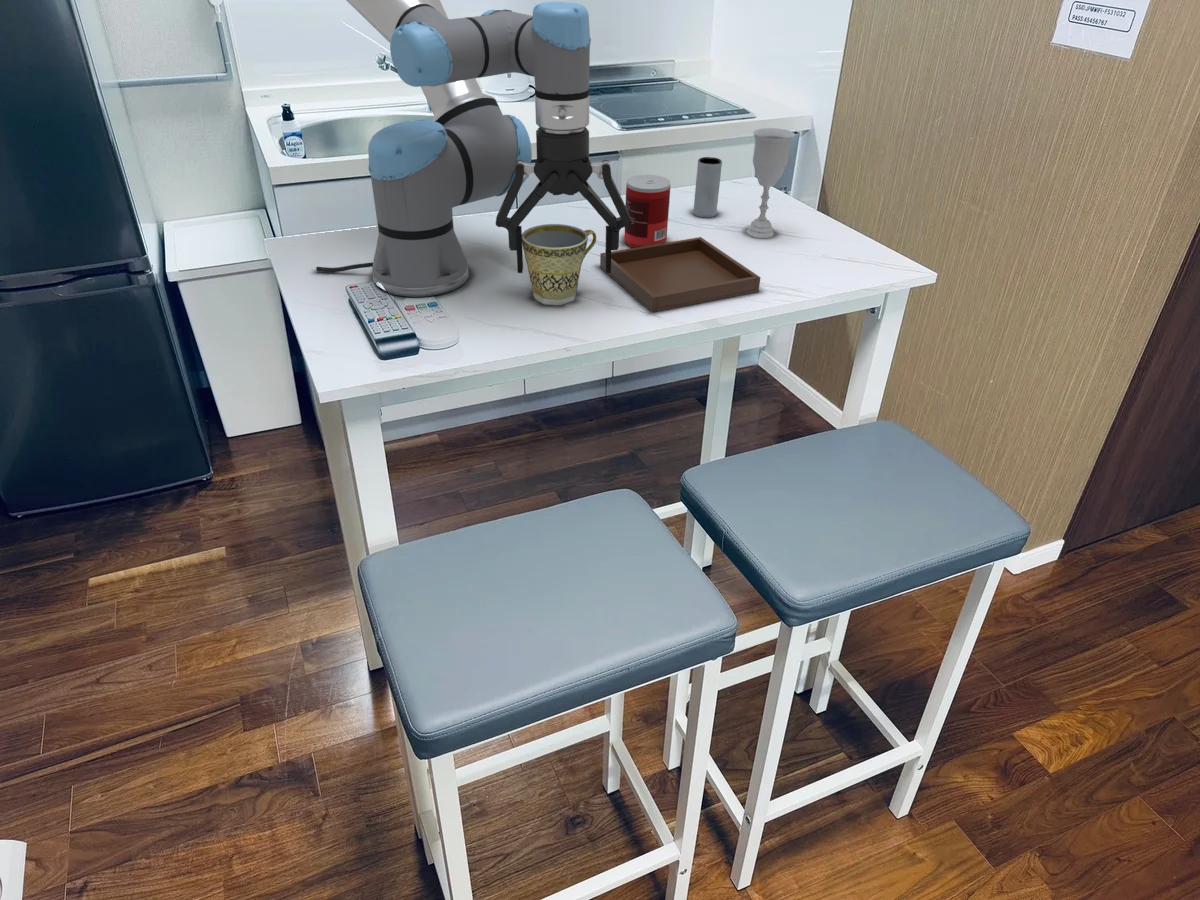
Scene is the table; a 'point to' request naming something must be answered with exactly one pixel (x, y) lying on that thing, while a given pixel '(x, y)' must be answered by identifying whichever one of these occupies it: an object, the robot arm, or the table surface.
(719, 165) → the gray cylinder
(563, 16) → the robot arm
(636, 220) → the canned food
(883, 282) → the table surface
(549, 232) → the ceramic cup
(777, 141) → the chalice
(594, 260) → the table surface
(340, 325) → the table surface
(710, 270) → the tray
